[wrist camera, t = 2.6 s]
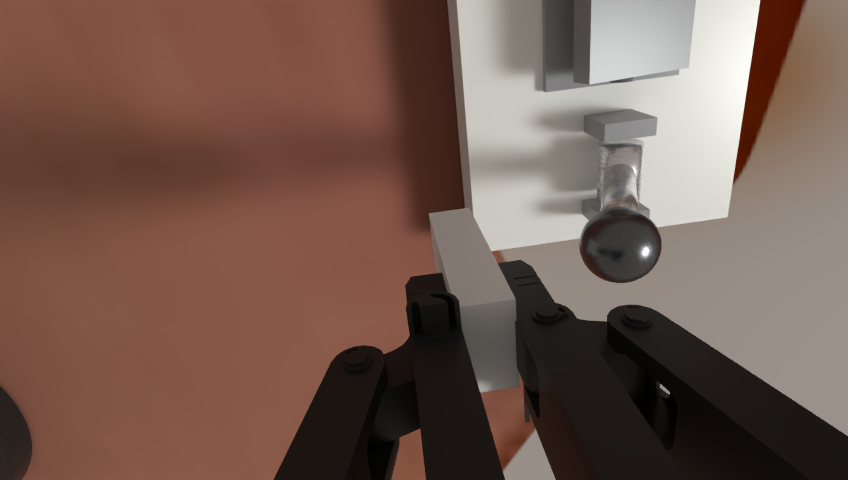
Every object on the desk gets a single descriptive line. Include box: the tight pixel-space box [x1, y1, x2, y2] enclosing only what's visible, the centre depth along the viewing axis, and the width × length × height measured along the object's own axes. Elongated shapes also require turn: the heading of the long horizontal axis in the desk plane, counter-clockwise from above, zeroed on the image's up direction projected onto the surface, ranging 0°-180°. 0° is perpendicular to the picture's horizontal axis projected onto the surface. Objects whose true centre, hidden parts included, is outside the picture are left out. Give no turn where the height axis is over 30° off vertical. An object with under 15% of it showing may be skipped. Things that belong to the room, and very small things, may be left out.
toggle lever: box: [579, 139, 661, 283], centre depth 20 cm, size 3×3×10 cm
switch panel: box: [447, 0, 760, 251], centre depth 22 cm, size 14×22×5 cm, turn 7°
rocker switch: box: [573, 0, 696, 85], centre depth 21 cm, size 5×6×2 cm
